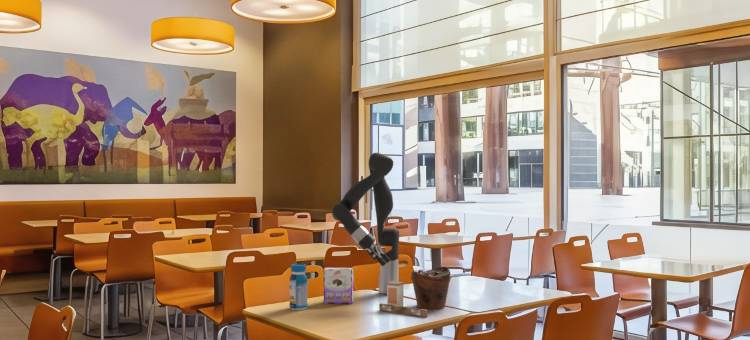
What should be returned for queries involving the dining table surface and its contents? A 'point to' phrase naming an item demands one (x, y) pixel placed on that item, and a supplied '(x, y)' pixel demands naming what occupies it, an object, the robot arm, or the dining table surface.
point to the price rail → (403, 310)
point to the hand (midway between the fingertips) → (386, 263)
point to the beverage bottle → (298, 287)
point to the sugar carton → (395, 293)
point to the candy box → (338, 285)
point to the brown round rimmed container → (431, 287)
